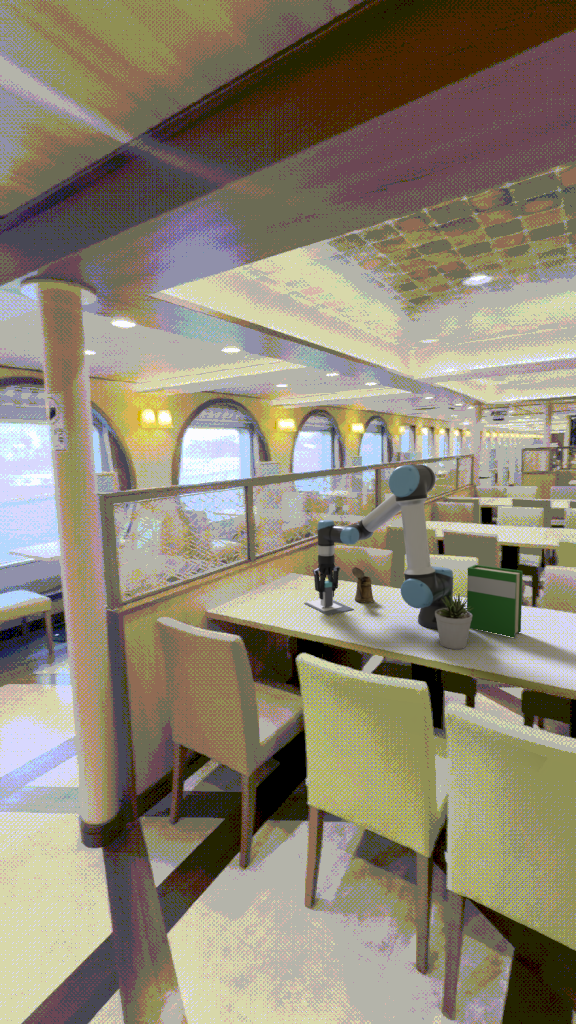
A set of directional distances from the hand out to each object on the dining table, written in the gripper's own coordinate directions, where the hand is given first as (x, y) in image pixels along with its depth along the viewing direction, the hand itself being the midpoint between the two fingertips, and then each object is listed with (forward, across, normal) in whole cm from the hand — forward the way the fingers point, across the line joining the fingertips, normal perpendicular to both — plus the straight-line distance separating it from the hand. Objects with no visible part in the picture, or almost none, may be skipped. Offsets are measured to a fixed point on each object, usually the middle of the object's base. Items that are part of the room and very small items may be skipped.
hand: (326, 604), depth 206 cm
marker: (0, 0, 0) cm, 0 cm away
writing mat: (+2, -2, -2) cm, 3 cm away
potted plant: (+2, -14, +59) cm, 61 cm away
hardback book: (+2, -39, +57) cm, 69 cm away
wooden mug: (+2, -20, 0) cm, 20 cm away
